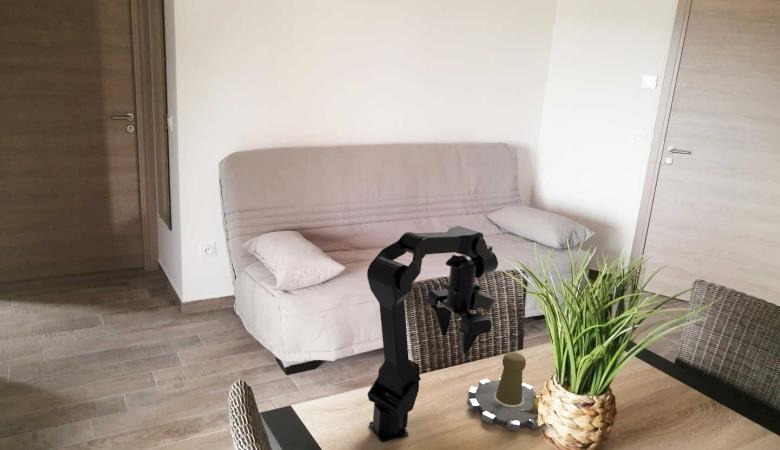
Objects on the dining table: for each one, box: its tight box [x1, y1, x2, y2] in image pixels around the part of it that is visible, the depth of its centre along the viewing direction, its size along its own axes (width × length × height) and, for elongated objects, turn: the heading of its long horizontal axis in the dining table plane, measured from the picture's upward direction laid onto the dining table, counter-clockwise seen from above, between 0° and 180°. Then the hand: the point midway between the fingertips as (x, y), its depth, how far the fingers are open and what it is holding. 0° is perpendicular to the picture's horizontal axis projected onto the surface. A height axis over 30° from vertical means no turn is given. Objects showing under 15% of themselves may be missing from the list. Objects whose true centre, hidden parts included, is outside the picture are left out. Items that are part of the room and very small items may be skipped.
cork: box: [496, 351, 527, 405], centre depth 133 cm, size 6×6×11 cm
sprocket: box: [467, 377, 541, 432], centre depth 134 cm, size 19×18×6 cm
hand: (454, 344), depth 136 cm, fingers open, 9 cm apart
